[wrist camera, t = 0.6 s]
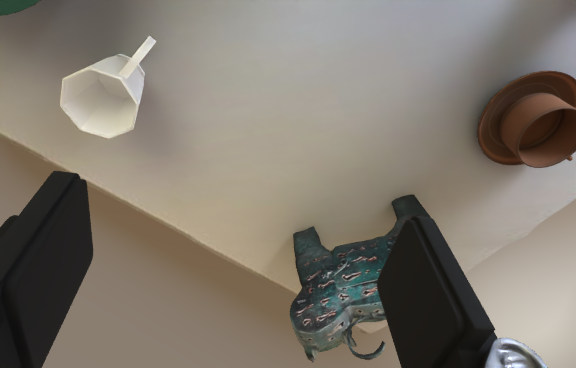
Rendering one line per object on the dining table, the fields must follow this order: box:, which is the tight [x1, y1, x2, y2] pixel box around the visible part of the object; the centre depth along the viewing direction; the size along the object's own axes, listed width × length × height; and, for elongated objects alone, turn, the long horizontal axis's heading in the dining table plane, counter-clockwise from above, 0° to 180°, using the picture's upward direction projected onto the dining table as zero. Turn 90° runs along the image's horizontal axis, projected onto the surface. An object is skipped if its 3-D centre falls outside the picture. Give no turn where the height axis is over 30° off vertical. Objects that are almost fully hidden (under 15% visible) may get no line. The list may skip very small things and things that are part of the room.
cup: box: [60, 36, 156, 139], centre depth 39 cm, size 7×10×8 cm
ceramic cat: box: [290, 195, 431, 362], centre depth 48 cm, size 20×6×20 cm, turn 112°
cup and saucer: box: [477, 71, 576, 168], centre depth 46 cm, size 12×12×6 cm
